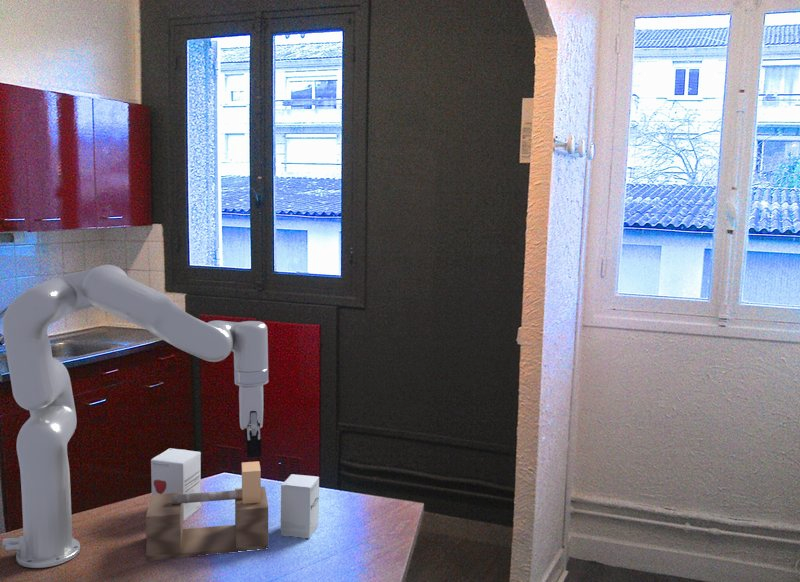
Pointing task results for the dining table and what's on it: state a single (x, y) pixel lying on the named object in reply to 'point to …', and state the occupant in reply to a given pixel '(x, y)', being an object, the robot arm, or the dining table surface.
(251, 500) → the cord clip
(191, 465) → the supplement box
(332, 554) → the dining table surface
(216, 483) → the dining table surface
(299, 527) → the supplement box
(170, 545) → the rod slider mechanism
